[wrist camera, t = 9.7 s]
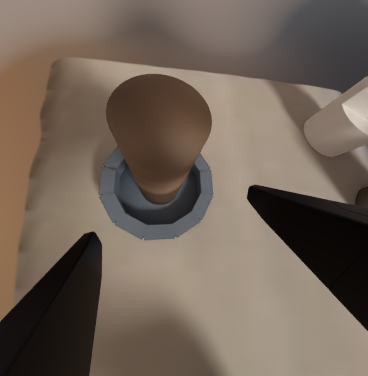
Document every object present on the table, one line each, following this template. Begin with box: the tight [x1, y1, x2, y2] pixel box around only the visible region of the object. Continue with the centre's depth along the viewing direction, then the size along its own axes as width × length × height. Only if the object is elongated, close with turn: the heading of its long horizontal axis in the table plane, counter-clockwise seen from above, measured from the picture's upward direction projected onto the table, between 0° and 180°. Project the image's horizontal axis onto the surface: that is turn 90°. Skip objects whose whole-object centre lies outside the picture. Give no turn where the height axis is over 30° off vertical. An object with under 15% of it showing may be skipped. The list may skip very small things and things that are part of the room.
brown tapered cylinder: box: [106, 74, 212, 205], centre depth 13 cm, size 5×5×12 cm
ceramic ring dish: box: [99, 146, 213, 240], centre depth 18 cm, size 13×13×3 cm
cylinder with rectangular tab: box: [304, 76, 368, 157], centre depth 22 cm, size 9×9×12 cm
